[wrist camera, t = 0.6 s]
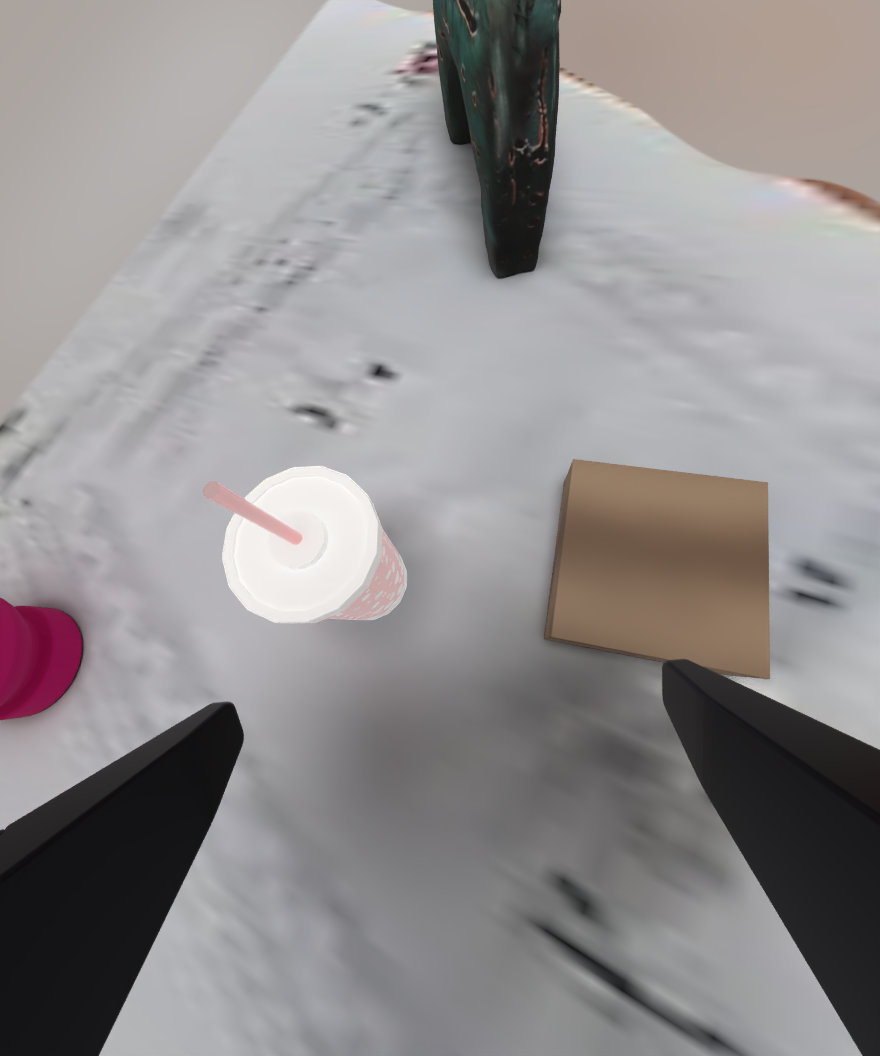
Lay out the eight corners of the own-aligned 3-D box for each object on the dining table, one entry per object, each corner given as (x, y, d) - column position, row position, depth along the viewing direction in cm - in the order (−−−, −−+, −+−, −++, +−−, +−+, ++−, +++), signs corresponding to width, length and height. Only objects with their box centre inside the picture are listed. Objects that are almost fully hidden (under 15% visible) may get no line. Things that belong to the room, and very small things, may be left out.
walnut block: (731, 675, 20) (769, 679, 17) (544, 639, 22) (551, 636, 19) (733, 504, 23) (767, 482, 20) (563, 482, 24) (573, 459, 21)
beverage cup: (297, 595, 24) (58, 526, 11) (358, 511, 25) (207, 354, 12) (379, 657, 23) (215, 662, 9) (441, 564, 24) (372, 450, 10)
